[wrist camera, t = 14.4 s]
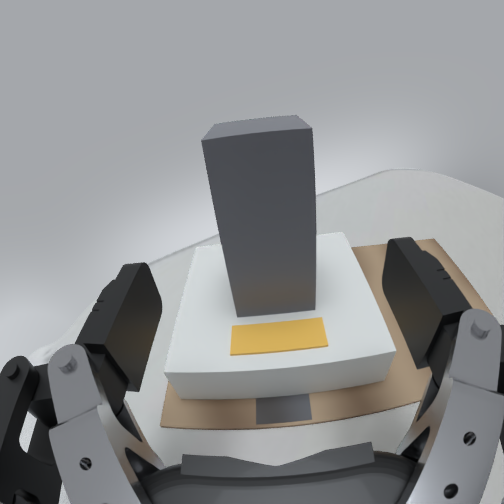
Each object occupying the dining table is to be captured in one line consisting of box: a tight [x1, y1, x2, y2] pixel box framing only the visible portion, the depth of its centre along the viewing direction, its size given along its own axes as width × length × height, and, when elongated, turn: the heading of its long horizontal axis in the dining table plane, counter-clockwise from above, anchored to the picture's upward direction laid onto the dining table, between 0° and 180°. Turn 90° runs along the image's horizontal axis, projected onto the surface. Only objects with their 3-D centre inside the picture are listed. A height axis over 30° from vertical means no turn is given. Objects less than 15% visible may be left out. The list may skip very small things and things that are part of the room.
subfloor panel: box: [160, 239, 492, 430], centre depth 20 cm, size 24×16×1 cm, turn 90°
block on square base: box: [164, 115, 396, 399], centre depth 16 cm, size 12×12×13 cm
